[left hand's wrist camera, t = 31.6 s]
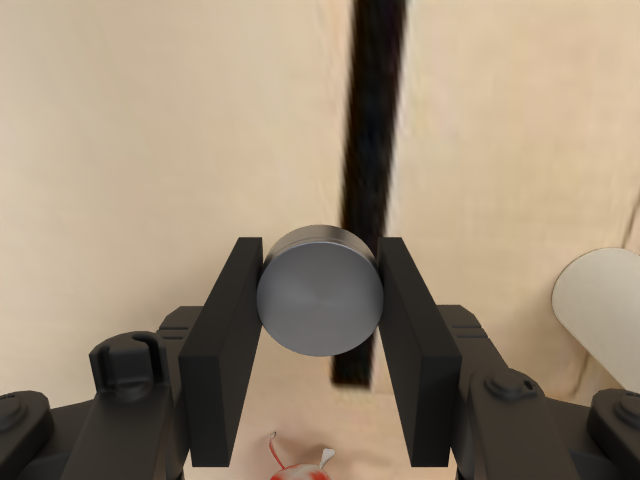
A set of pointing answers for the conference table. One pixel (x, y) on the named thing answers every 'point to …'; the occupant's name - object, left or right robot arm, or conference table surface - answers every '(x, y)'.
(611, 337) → the bottle
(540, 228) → the conference table surface
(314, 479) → the fish
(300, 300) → the cap
